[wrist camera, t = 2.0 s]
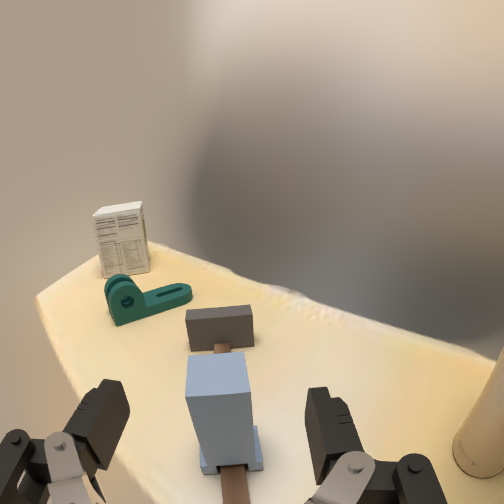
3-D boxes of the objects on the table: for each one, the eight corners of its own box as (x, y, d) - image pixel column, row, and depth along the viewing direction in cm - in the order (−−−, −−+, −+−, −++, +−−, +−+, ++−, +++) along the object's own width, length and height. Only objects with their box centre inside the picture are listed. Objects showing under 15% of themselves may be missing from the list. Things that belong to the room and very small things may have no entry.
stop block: (251, 335, 48) (250, 304, 46) (254, 346, 46) (252, 314, 44) (192, 340, 47) (186, 309, 45) (191, 351, 45) (185, 319, 43)
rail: (230, 348, 45) (229, 342, 45) (252, 523, 18) (252, 520, 18) (214, 349, 45) (214, 343, 45) (226, 525, 18) (225, 522, 17)
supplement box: (150, 272, 76) (140, 207, 70) (103, 279, 72) (91, 215, 66) (150, 256, 88) (142, 200, 82) (109, 263, 84) (100, 207, 78)
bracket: (117, 327, 51) (106, 290, 49) (109, 312, 56) (101, 278, 54) (198, 300, 61) (193, 265, 59) (184, 289, 66) (180, 257, 64)
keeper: (257, 434, 29) (251, 350, 25) (263, 469, 24) (260, 390, 20) (202, 439, 28) (180, 356, 24) (203, 474, 24) (175, 396, 19)
